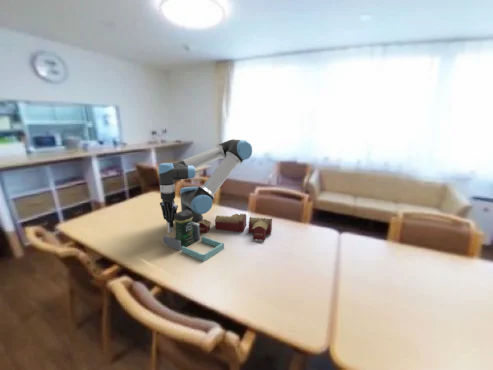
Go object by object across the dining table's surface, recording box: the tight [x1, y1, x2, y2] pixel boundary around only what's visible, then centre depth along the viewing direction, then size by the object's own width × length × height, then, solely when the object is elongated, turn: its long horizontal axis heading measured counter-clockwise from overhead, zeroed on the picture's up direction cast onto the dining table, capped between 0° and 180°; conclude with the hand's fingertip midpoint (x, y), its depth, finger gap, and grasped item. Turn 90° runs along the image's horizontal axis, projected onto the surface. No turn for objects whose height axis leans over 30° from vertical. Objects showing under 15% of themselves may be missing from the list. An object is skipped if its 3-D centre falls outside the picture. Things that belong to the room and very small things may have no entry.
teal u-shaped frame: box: [181, 235, 225, 262], centre depth 121 cm, size 15×16×3 cm
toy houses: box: [198, 213, 273, 241], centre depth 144 cm, size 45×20×10 cm, turn 79°
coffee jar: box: [173, 209, 195, 247], centre depth 127 cm, size 10×8×19 cm
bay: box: [162, 222, 201, 252], centre depth 129 cm, size 14×13×10 cm
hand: (170, 231), depth 134 cm, fingers closed
